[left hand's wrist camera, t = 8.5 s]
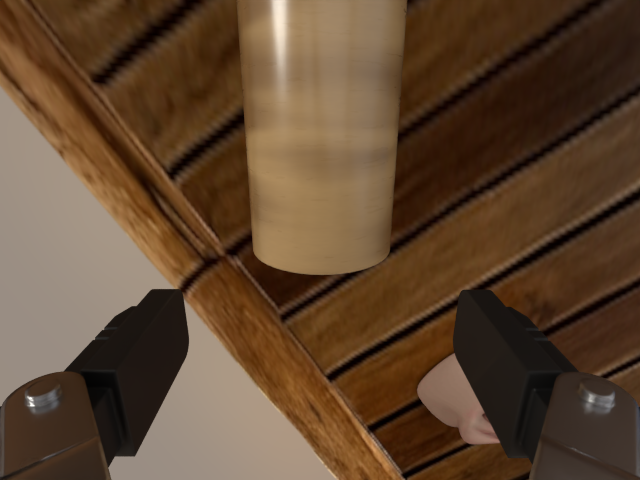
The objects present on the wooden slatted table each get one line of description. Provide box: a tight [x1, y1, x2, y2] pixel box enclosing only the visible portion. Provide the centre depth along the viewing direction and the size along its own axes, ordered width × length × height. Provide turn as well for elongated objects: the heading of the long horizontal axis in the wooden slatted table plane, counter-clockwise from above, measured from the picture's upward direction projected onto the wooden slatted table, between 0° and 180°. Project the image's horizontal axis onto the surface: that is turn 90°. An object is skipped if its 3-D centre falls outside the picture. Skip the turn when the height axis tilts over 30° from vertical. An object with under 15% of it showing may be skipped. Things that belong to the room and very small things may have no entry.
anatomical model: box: [417, 353, 500, 444], centre depth 39 cm, size 13×4×12 cm
